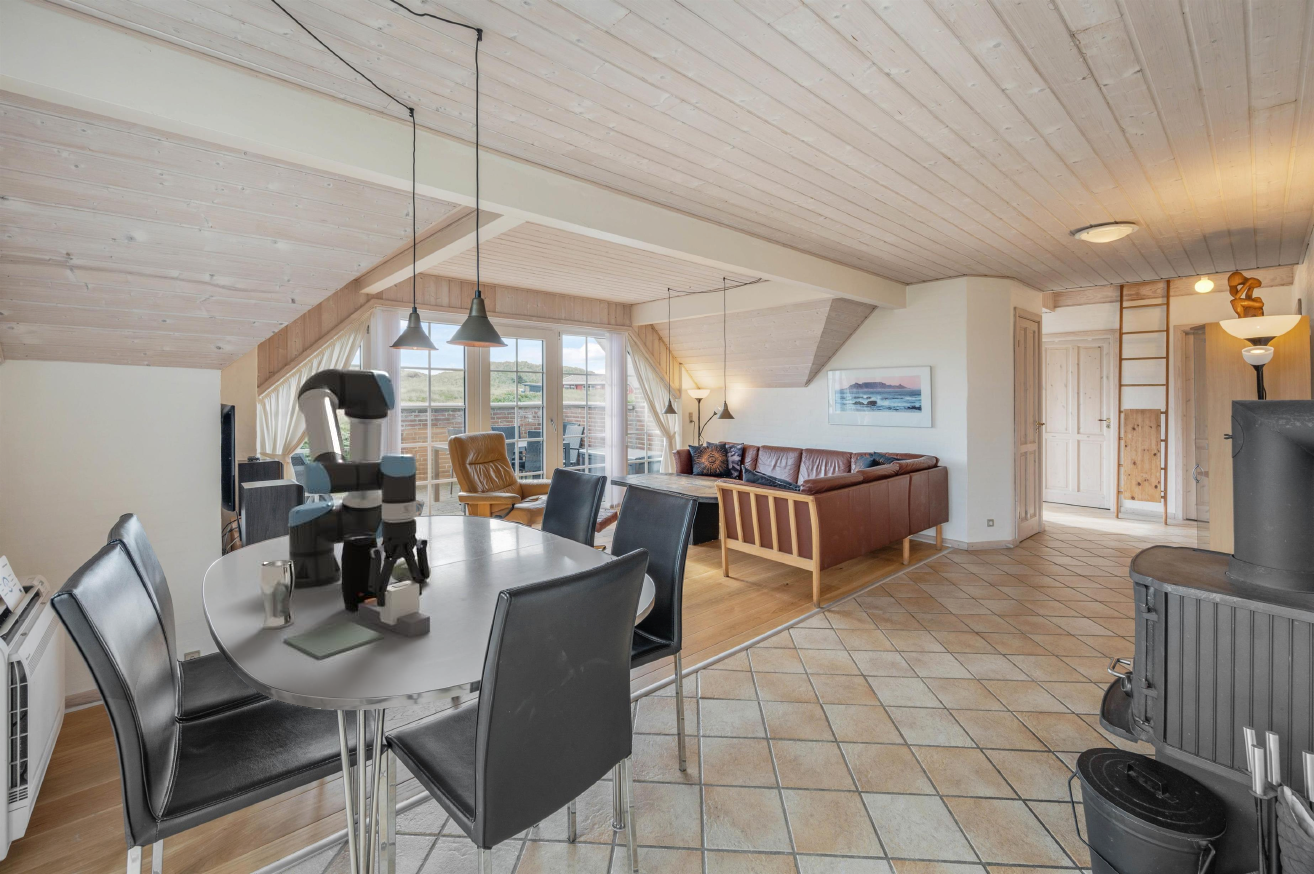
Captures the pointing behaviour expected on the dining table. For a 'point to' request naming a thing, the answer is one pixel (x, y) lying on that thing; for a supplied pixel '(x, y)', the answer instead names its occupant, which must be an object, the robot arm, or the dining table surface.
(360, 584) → the portable speaker
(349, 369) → the robot arm
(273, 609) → the beer glass
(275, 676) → the dining table surface
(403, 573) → the seashell
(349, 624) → the mat
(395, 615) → the block
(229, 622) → the dining table surface
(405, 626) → the power strip
